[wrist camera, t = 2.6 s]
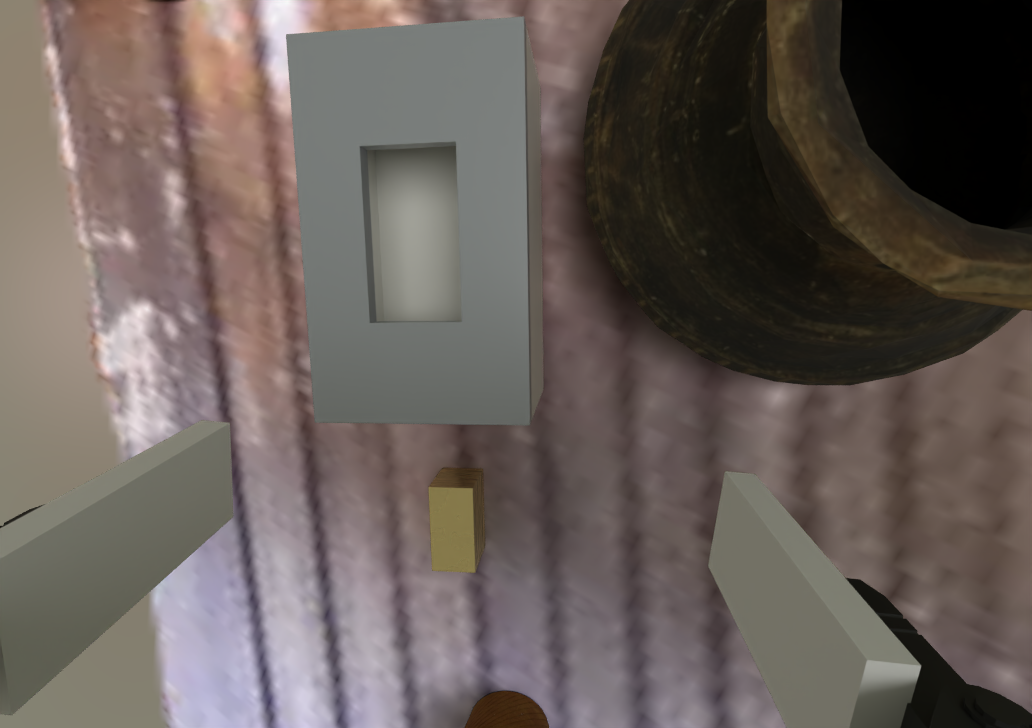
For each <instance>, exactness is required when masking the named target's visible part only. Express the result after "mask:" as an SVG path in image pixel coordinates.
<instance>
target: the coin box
mask: <svg viewBox="0 0 1032 728" xmlns="http://www.w3.org/2000/svg"><path fill="white" fill-rule="evenodd" d="M286 40H287V54H288V67H289V81H290V94H291V108H292V121H293V135H294V148H295V162H296V175H297V189H298V202H299V215H300V229H301V242H302V256H303V269H304V283H305V296H306V310H307V323H308V337H309V350H310V364H311V377H312V391H313V404H314V418H315V422H319V423H392V424H464V425H530V424H531V421H532V419H533V416H534V413H535V411H536V408H537V405H538V402H539V400H540V397H541V394H542V392H543V389H544V377H543V285H542V193H541V101H540V83H539V79H538V74H537V70H536V66H535V62H534V57H533V53H532V49H531V44H530V40H529V36H528V32H527V27H526V23H525V19H524V17H512V18H499V19H485V20H472V21H459V22H445V23H432V24H419V25H406V26H392V27H379V28H366V29H352V30H339V31H326V32H313V33H299V34H286Z"/></svg>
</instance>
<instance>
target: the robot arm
mask: <svg viewBox="0 0 1032 728" xmlns="http://www.w3.org/2000/svg"><path fill="white" fill-rule="evenodd" d="M232 517H233V496H232V469H231V442H230V423H225V422H214V421H204V420H201V421H200V422H198V423H196V424H194V425H192V426H190V427H188V428H187V429H185V430H183V431H181V432H179V433H177V434H175V435H173V436H172V437H170V438H168V439H166V440H164V441H162V442H160V443H159V444H157V445H155V446H153V447H151V448H149V449H147V450H145V451H144V452H142V453H140V454H138V455H136V456H134V457H132V458H131V459H129V460H127V461H125V462H123V463H121V464H119V465H118V466H116V467H114V468H112V469H110V470H108V471H106V472H105V473H103V474H101V475H99V476H97V477H95V478H93V479H91V480H90V481H88V482H86V483H84V484H82V485H80V486H78V487H77V488H75V489H73V490H71V491H69V492H68V493H65V494H63V495H62V496H60V497H58V498H56V499H54V500H52V501H50V502H49V503H47V504H44V505H41V506H39V507H35V508H33V509H30V510H28V511H26V512H24V513H22V514H20V515H18V516H16V517H15V518H13V519H11V520H9V521H7V522H5V523H4V525H3V526H0V714H4V715H13V714H14V713H15V712H16V711H17V710H18V709H19V708H20V707H22V706H23V705H24V704H25V703H26V702H27V701H28V700H29V699H31V698H32V697H33V696H34V695H35V694H36V693H37V692H39V691H40V690H41V689H42V688H43V687H44V686H45V685H46V684H47V683H49V682H50V681H51V680H52V679H53V678H54V677H55V676H56V675H57V674H59V672H61V671H62V670H63V669H64V668H65V667H66V666H67V665H69V664H70V663H71V662H72V661H73V660H74V659H75V658H76V657H77V656H79V655H80V654H81V653H82V652H83V651H84V650H85V649H86V648H88V647H89V646H90V645H91V644H92V643H93V642H94V641H95V640H96V639H98V638H99V637H100V636H101V635H102V634H103V633H104V632H105V631H106V630H108V629H109V628H110V627H111V626H112V625H113V624H114V623H115V622H116V621H118V620H119V619H120V618H121V617H122V616H123V615H124V614H125V613H126V612H128V611H129V610H130V609H131V608H132V607H133V606H134V605H135V604H137V603H138V602H139V601H140V600H141V599H142V598H143V597H144V596H145V595H147V594H148V593H149V592H150V591H151V590H152V589H153V588H154V587H156V586H157V585H158V584H159V583H160V582H161V581H162V580H163V579H164V578H166V577H167V576H168V575H169V574H170V573H171V572H172V571H173V570H174V569H176V568H177V567H178V566H179V565H180V564H181V563H182V562H183V561H184V560H186V559H187V558H188V557H189V556H190V555H191V554H192V553H193V552H195V551H196V550H197V549H198V548H199V547H200V546H201V545H202V544H203V543H205V542H206V541H207V540H208V539H209V538H210V537H211V536H212V535H213V534H215V533H216V532H217V531H218V530H219V529H220V528H221V527H222V526H223V525H225V524H226V523H227V522H228V521H229V520H230V519H231V518H232ZM708 567H709V569H710V571H711V573H712V575H713V577H714V579H715V581H716V583H717V585H718V587H719V589H720V591H721V593H722V595H723V597H724V599H725V601H726V604H727V606H728V608H729V610H730V612H731V614H732V616H733V618H734V620H735V622H736V624H737V626H738V628H739V630H740V632H741V634H742V636H743V639H744V641H745V643H746V645H747V647H748V649H749V651H750V653H751V655H752V657H753V659H754V661H755V663H756V665H757V667H758V669H759V671H760V673H761V676H762V678H763V680H764V682H765V684H766V686H767V688H768V690H769V692H770V694H771V696H772V698H773V700H774V702H775V704H776V706H777V708H778V711H779V713H780V715H781V717H782V719H783V721H784V723H785V725H786V727H787V728H1032V714H1031V713H1029V712H1028V711H1027V710H1025V709H1024V708H1023V707H1022V706H1020V705H1018V704H1016V703H1014V702H1013V701H1011V700H1009V699H1007V698H1005V697H1004V696H1002V695H1000V694H997V693H995V692H992V691H990V690H987V689H984V688H982V687H979V686H975V685H969V684H966V682H965V681H964V680H963V679H962V678H961V677H960V676H959V675H958V674H957V673H956V672H955V671H954V670H953V669H952V667H951V666H950V665H949V664H948V663H947V662H946V661H945V660H944V659H943V658H942V657H941V656H940V655H939V654H938V653H937V651H936V650H935V649H934V648H933V647H932V646H931V645H930V644H929V643H928V642H927V641H926V640H925V639H924V638H923V636H922V635H918V633H917V630H916V629H915V628H914V627H913V626H912V625H911V624H910V623H909V621H908V620H907V619H903V615H902V614H901V613H900V612H899V611H898V610H897V609H896V608H895V606H894V605H893V604H892V603H891V602H890V601H889V600H888V599H887V598H886V597H885V596H884V595H882V594H881V593H879V592H878V591H876V590H875V589H873V588H872V587H870V586H869V585H867V584H866V583H864V582H863V581H861V580H859V579H849V578H845V577H844V576H843V575H842V574H841V573H840V572H839V570H838V569H837V568H836V567H835V566H834V565H833V563H832V562H831V561H830V560H829V559H828V558H827V557H826V555H825V554H824V553H823V552H822V551H821V550H820V548H819V547H818V546H817V545H816V544H815V543H814V542H813V540H812V539H811V538H810V537H809V536H808V535H807V534H806V532H805V531H804V530H803V529H802V528H801V527H800V525H799V524H798V523H797V522H796V521H795V520H794V519H793V517H792V516H791V515H790V514H789V513H788V512H787V510H786V509H785V508H784V507H783V506H782V505H781V504H780V502H779V501H778V500H777V499H776V498H775V497H774V495H773V494H772V493H771V492H770V491H769V490H768V489H767V487H766V486H765V485H764V484H763V483H762V482H761V481H760V479H759V478H758V477H757V476H756V475H755V474H749V473H739V472H728V471H725V474H724V480H723V486H722V491H721V497H720V502H719V508H718V513H717V519H716V525H715V530H714V536H713V541H712V547H711V552H710V558H709V564H708Z"/></svg>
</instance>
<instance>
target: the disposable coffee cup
mask: <svg viewBox="0 0 1032 728" xmlns="http://www.w3.org/2000/svg"><path fill="white" fill-rule="evenodd" d="M465 728H549V725H548V721H547V718H546V716H545V714H544V712H543V711H542V709H541V708H540V707H539V705H537V704H536V703H535V702H534V701H533V700H531V699H530V698H528V697H527V696H525V695H522V694H519V693H516V692H511V691H500V692H495V693H491V694H489V695H487V696H485V697H483V698H482V699H481V700H480V701H479V702H477V704H476V705H475V706H474V708H473V710H472V712H471V714H470V717H469V719H468V721H467V724H466V726H465Z"/></svg>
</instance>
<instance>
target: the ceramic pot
mask: <svg viewBox="0 0 1032 728" xmlns="http://www.w3.org/2000/svg"><path fill="white" fill-rule="evenodd" d="M584 156H585V177H586V197H587V208H588V210H589V213H590V216H591V218H592V221H593V224H594V226H595V229H596V232H597V234H598V236H599V239H600V241H601V243H602V246H603V248H604V250H605V253H606V255H607V257H608V259H609V262H610V264H611V266H612V267H613V269H614V271H615V273H616V275H617V277H618V278H619V280H620V281H621V283H622V284H623V285H624V287H625V288H626V289H627V290H628V292H629V293H630V294H631V295H632V297H633V298H634V299H635V301H636V302H637V303H638V304H639V306H640V307H641V308H642V309H643V311H644V312H645V313H646V314H647V315H648V317H649V318H650V319H651V320H652V321H653V322H654V323H655V324H656V325H657V327H659V328H660V329H662V330H663V331H665V332H666V333H668V334H669V335H671V336H672V337H674V338H675V339H677V340H678V341H680V342H681V343H683V344H684V345H686V346H687V347H689V348H690V349H692V350H693V351H695V352H696V353H698V354H699V355H701V356H702V357H705V358H707V359H709V360H711V361H713V362H716V363H718V364H720V365H722V366H724V367H727V368H729V369H731V370H733V371H737V372H741V373H744V374H748V375H752V376H756V377H760V378H764V379H768V380H772V381H776V382H785V383H794V384H803V385H854V384H859V383H864V382H869V381H874V380H879V379H884V378H889V377H894V376H899V375H904V374H907V373H910V372H913V371H915V370H918V369H921V368H924V367H926V366H929V365H932V364H935V363H938V362H940V361H943V360H946V359H949V358H952V357H954V356H957V355H960V354H963V353H964V352H966V351H967V350H969V349H970V348H972V347H974V346H975V345H977V344H978V343H980V342H981V341H983V340H984V339H986V338H987V337H989V336H990V335H992V334H993V333H995V332H996V331H998V330H999V329H1000V328H1001V327H1002V326H1004V325H1005V324H1006V323H1007V322H1008V321H1010V320H1011V319H1012V318H1013V317H1014V316H1016V315H1017V314H1018V313H1019V312H1020V311H1022V310H1023V309H1024V310H1030V311H1032V0H629V1H628V3H627V4H626V5H625V6H624V8H623V9H622V11H621V13H620V15H619V17H618V20H617V22H616V24H615V26H614V28H613V31H612V33H611V35H610V37H609V39H608V41H607V44H606V46H605V48H604V50H603V54H602V57H601V60H600V64H599V67H598V71H597V74H596V78H595V81H594V85H593V88H592V92H591V95H590V99H589V102H588V110H587V117H586V125H585V132H584Z"/></svg>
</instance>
